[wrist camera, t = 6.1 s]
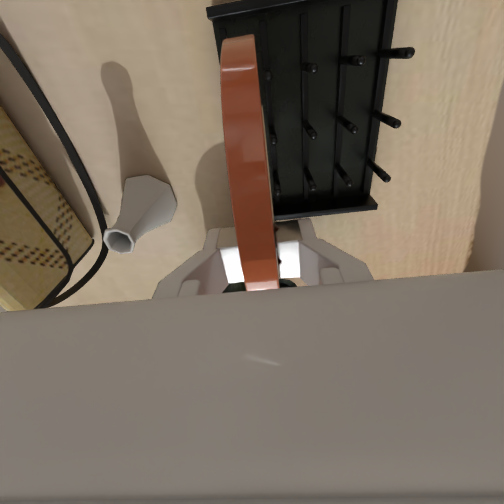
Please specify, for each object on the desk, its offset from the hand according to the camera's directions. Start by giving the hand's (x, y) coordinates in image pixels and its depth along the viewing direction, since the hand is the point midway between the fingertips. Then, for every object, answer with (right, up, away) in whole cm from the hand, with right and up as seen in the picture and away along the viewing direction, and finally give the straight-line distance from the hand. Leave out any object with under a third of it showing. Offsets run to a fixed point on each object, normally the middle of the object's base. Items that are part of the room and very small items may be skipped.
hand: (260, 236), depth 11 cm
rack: (+5, +14, +18) cm, 23 cm away
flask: (-14, +6, +24) cm, 28 cm away
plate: (0, +2, +3) cm, 4 cm away
